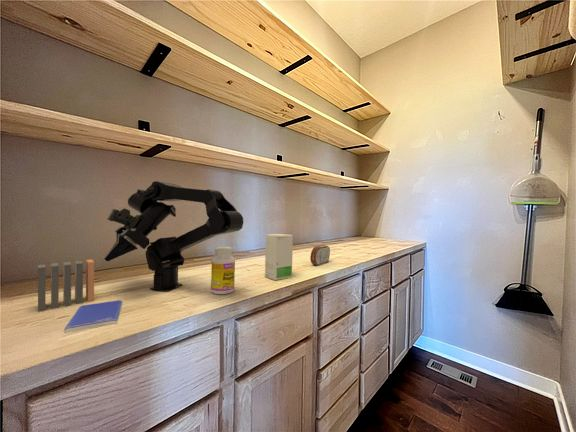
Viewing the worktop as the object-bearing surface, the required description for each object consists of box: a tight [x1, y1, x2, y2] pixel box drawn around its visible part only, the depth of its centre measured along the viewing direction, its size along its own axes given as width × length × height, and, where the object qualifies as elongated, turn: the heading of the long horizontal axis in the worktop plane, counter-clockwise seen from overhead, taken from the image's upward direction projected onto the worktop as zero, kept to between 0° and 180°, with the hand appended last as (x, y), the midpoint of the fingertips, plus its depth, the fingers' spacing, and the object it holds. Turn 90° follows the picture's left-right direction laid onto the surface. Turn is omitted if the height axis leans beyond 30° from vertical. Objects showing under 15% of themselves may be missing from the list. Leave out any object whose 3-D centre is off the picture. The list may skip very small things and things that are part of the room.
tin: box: [309, 244, 331, 266], centre depth 111 cm, size 15×3×8 cm, turn 144°
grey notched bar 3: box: [62, 261, 72, 307], centre depth 60 cm, size 1×4×10 cm, turn 45°
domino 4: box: [85, 259, 95, 303], centre depth 63 cm, size 1×4×10 cm, turn 46°
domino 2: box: [50, 262, 60, 310], centre depth 58 cm, size 1×4×10 cm, turn 46°
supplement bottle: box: [210, 246, 236, 295], centre depth 71 cm, size 7×7×13 cm
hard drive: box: [63, 299, 123, 334], centre depth 53 cm, size 2×8×12 cm
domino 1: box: [37, 264, 47, 313], centre depth 57 cm, size 1×4×10 cm, turn 46°
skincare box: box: [264, 233, 294, 281], centre depth 87 cm, size 8×7×16 cm
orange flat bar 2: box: [74, 260, 84, 305], centre depth 61 cm, size 1×4×10 cm, turn 45°
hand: (105, 260), depth 66 cm, fingers closed
